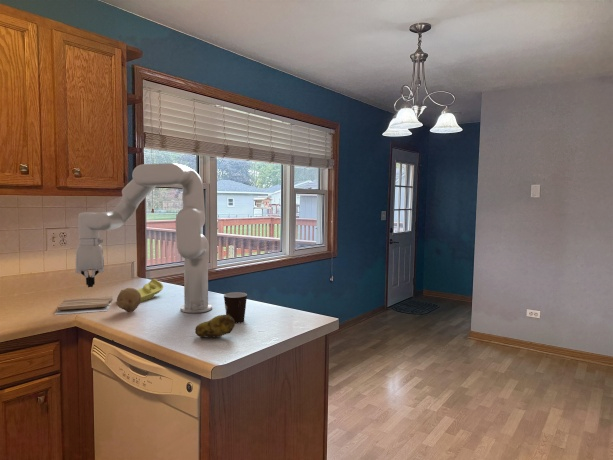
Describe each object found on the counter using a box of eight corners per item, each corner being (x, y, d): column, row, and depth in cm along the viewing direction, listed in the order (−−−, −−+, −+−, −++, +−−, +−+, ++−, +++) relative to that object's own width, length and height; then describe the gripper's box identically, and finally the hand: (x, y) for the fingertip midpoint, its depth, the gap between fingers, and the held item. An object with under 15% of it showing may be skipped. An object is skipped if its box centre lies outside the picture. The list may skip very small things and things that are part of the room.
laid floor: (107, 311, 174) (107, 307, 174) (54, 314, 168) (53, 311, 168) (112, 299, 194) (112, 296, 194) (65, 302, 188) (64, 299, 188)
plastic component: (136, 299, 185) (119, 287, 188) (131, 313, 188) (115, 301, 190) (167, 287, 203) (152, 276, 206) (163, 300, 206) (147, 289, 208)
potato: (209, 331, 149) (208, 308, 148) (239, 337, 143) (238, 313, 142) (192, 338, 142) (191, 314, 141) (222, 345, 136) (222, 320, 135)
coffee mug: (226, 317, 166) (226, 292, 165) (248, 318, 166) (248, 292, 165) (219, 326, 155) (219, 299, 154) (243, 327, 154) (243, 299, 154)
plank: (106, 306, 178) (106, 303, 178) (57, 309, 172) (57, 306, 172) (109, 303, 185) (109, 300, 185) (61, 306, 179) (61, 304, 179)
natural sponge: (131, 316, 167) (131, 291, 166) (111, 314, 169) (111, 289, 168) (145, 310, 176) (145, 286, 175) (126, 309, 178) (126, 285, 177)
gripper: (110, 241, 182) (111, 283, 184) (70, 242, 177) (72, 285, 179) (108, 242, 175) (109, 287, 176) (66, 243, 170) (68, 289, 172)
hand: (90, 286), depth 178 cm, fingers closed
